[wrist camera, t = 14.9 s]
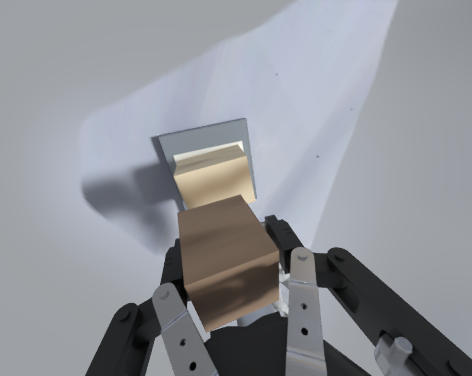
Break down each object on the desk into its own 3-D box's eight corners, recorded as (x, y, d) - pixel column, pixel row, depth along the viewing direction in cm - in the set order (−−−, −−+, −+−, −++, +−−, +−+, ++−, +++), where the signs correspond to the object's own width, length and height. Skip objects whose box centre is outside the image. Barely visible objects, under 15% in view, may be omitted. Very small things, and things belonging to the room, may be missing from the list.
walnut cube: (246, 238, 17) (279, 300, 12) (193, 256, 16) (206, 332, 11) (240, 194, 15) (279, 250, 10) (177, 212, 14) (184, 286, 9)
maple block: (246, 183, 27) (255, 201, 23) (193, 198, 27) (192, 219, 22) (237, 144, 24) (246, 155, 20) (178, 160, 24) (173, 176, 19)
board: (254, 195, 30) (257, 199, 29) (187, 211, 29) (187, 216, 28) (244, 117, 24) (246, 119, 23) (160, 135, 23) (157, 137, 22)
